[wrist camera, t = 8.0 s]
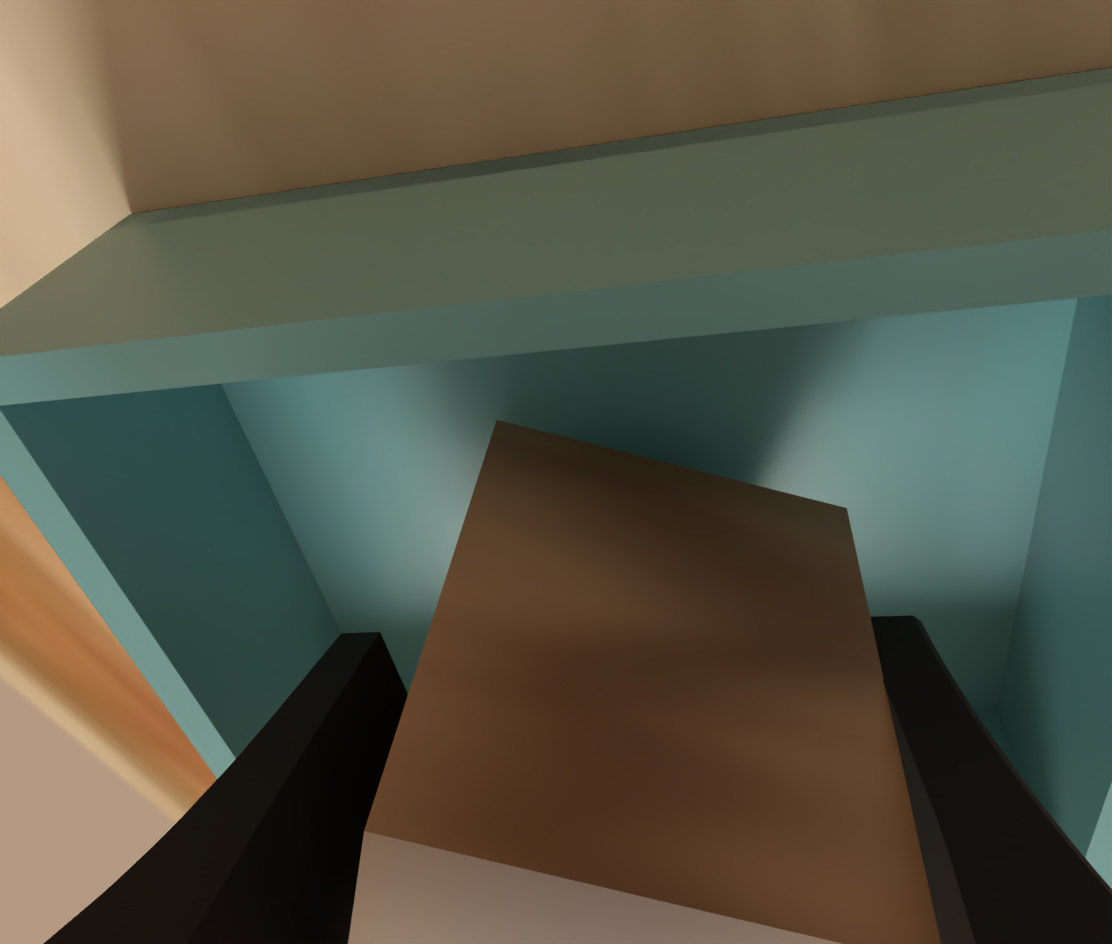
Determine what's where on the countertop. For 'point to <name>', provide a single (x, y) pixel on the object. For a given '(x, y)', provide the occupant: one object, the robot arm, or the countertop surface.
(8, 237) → the countertop surface
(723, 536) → the walnut block
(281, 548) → the teal bin
